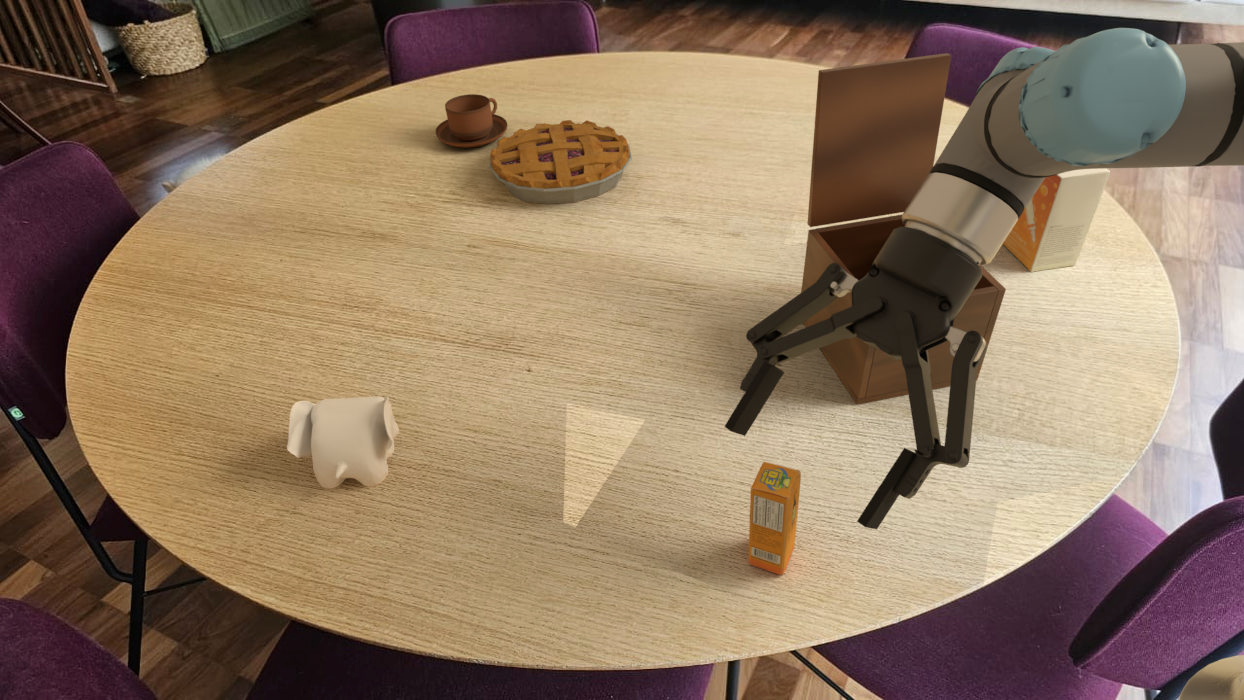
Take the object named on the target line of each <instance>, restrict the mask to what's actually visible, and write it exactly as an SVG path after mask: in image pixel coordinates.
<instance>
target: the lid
mask: <svg viewBox="0 0 1244 700" xmlns="http://www.w3.org/2000/svg"><path fill="white" fill-rule="evenodd" d="M951 61H952V54H949V53H948V52H946V53H945V52H944V53H938V54H931V55H930V54H929V55H924V56H923V55H922V56H916V57H908V58H901V59H899V58H898V59H892V60H886V61H878V62H871V63H862V64H855V65H854V64H853V65H846V66H840V67H832V68H825V69H819V70H818V74H817V89H816V101H815V115H814V116H815V117H814V131H813V142H812V143H813V144H812V145H813V146H812V156H811V170H810V183H809V184H810V185H809V197H808V198H809V199H808V200H809V201H808V210H807V226H808V227H810V228H815V227H821V226H827V225H833V224H839V223H847V222H851V221H859V220H865V219H869V218H875V217H876V218H877V217H881V216H882V217H883V216H888V215H895V214H899V213H904V211H905V210H906V208H907V207H908V205H909V204H910V202H911V201H912V199H913V198H914V196H915V195H916V193H917V191H918V190H919V188H920V187H921V185H922V184H923V182H924V181H925V179H926V178H927V176H928V174H929V173H930V171H931V170H932V168H933V166H934V165H935V159H936V154H937V153H936V152H937V147H938V140H939V133H940V128H941V122H942V121H941V120H942V116H943V110H944V102H945V97H946V90H947V84H948V78H949V72H950V66H951Z"/></svg>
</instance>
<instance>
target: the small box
mask: <svg viewBox="0 0 1244 700" xmlns="http://www.w3.org/2000/svg"><path fill="white" fill-rule="evenodd" d="M1110 174H1111V170H1110V169H1109V168H1100V169H1080V170H1073V171H1068V172H1064V173H1060V174H1057V175H1054V176H1050V177H1046V178H1045V179H1044V181H1043V182H1042V184H1041V185H1040V187H1039V188H1038V190H1037V191H1036V193H1035V194H1034V196H1033V197H1032V199H1031V200H1030V202H1029V203H1028V205H1027V206H1026V208H1025V209H1024V211H1023V213H1022V214H1021V216H1020V217H1019V219H1018V221H1017V222H1016V224H1015V225H1014V227H1013V228H1012V230H1011V232H1010V233H1009V235H1008V236H1007V238H1006V239H1005V241H1004V242H1003V244H1002V246H1004V247H1005V248H1006V249H1007V250H1008V251H1010V253H1012V254H1013V256H1014V257H1016V259H1018V260H1019V262H1021V264H1022V265H1024V267H1026V269H1027V270H1028V271H1029V272H1030V273H1032V272H1039V271H1045V270H1053V269H1058V268H1059V269H1060V268H1066V267H1071V266H1072V267H1073V266H1076V265H1077V262H1078V261H1079V257H1080V254H1081V252H1082V250H1083V247H1084V244H1085V242H1086V239H1087V236H1088V233H1089V230H1090V228H1091V225H1092V223H1093V219H1094V217H1095V214H1096V211H1097V209H1098V206H1099V204H1100V201H1101V198H1102V197H1103V193H1104V190H1105V188H1106V185H1107V182H1108V179H1109V177H1110Z"/></svg>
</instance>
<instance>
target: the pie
mask: <svg viewBox="0 0 1244 700" xmlns="http://www.w3.org/2000/svg"><path fill="white" fill-rule="evenodd" d="M632 156H633V155H632V151H631V146H630V144H629V143H628V140H627V138H626V137H624V135H622V134H620V135H619V134H618V133H617V132H616V130H615V129H614V128H613V127H611V126H609V125H607V126H604V127H602V126H598V125H597V124H596V123H595V122H593V121H590V120H584V121H583V122H582V123H575V122H573V120H571V119H567V120H562V121H561V122H560V123H555V124H550V123H545V122H543V123H536V124H535V125H534V126H533V128H528V129H523V128H519V129H518V130H516V131H515V132H513V134H512V135H511V136H509V137H507V136H504V137H502V138H499V139H498V140H497V143H496V147H495V148H492V149H491V150H490V155H489V164H488V169H489V170H490V171H491V173H492V174H493V175H494V177H495V179H497V180H498V181H499V182H500V183H502V184H503V185H504V187H505V188H506V189H507V191H508V192H509V193H510V194H511V196H513V197H516V198H518V199H519V200H522V201H523V202H525V203H534V204H540V205H541V204H542V205H555V204H569V203H576V202H577V203H578V202H580V201H584V200H588V199H592V198H596V197H599V196H601V195H603V194H605V193H607V192H609V191H611V190H612V189H614V188H616V187H617V185H618V183H619V181H620V180H621V178H622V176H623V174H624V172H625V170H626V169H627V167H628V166H629V164H630V163H631V161H632V159H633V157H632Z"/></svg>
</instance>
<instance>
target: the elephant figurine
mask: <svg viewBox="0 0 1244 700" xmlns="http://www.w3.org/2000/svg"><path fill="white" fill-rule="evenodd" d="M392 405H393V404H392V403H391V402H390V397H389V396H387V395H386V396H385V397H383V396H381V395H374V396H373V395H372V396H360V397H359V396H357V397H339V398H338V397H337V398H324V399H321V400H319V401H317V402H316V403H314V402H312V401H309V400H299V401H296V402H295V403H294V404H293V405H292V406H291V408H290V412H289V420H288V434H287V435H288V436H287V445H286V450H287V451H288V452H289V453H290V454H291V455H293V456H295V458H297V459H300V458H307V457H310V456H311V460H312V468H313V474H314V476H315V478H316V481H317V483H318V484H319V485H320V486H321V487H322V488H324V489H329V490H330V489H335V488H337V487H340V486H341V485H342V484H343V483H344V481H345V480H346V479H354V480H356V481H358V482H359V483H360V484H361V485H362V486H364V487H369V488H370V487H373V486H377V485H379V484H380V483H382V482H383V481H385V479H386V477H387V476H388V474H389V464H388V459H389V458H390V457H391V456H393V454H394V452H395V448H396V447H395V440H394V439H395V438H396V437H397V436H399V433H400V428H399V425H398V424H397V422H396V419H395V416H394V413H393V409H392Z"/></svg>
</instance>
